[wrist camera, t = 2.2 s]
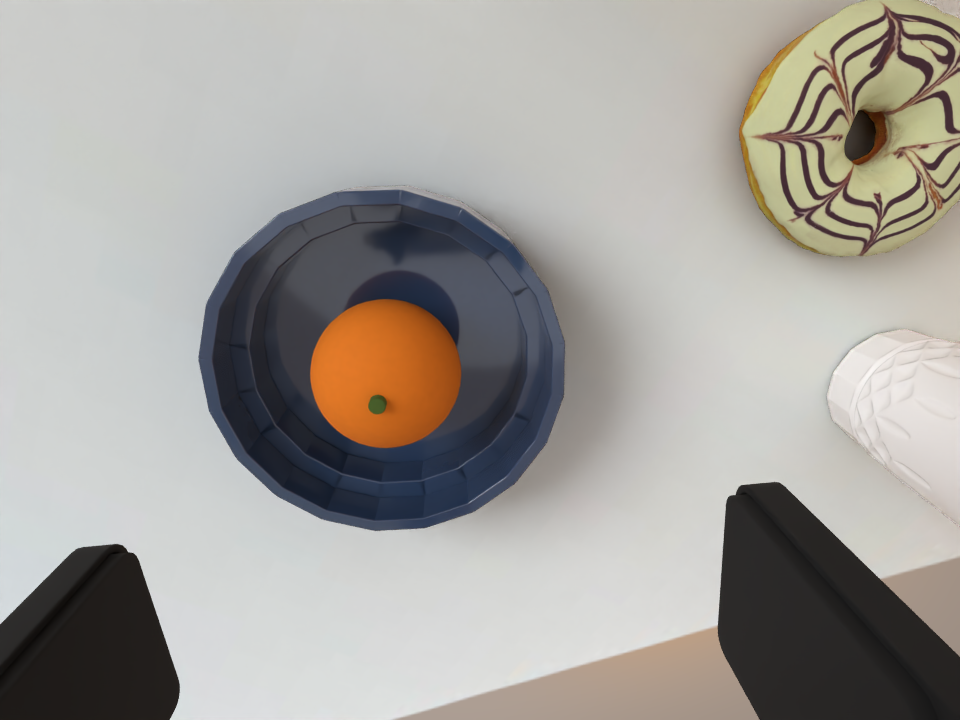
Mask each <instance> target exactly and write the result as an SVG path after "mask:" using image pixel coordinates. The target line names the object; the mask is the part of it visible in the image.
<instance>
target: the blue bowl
mask: <svg viewBox="0 0 960 720" xmlns="http://www.w3.org/2000/svg"><path fill="white" fill-rule="evenodd" d="M378 299H394V300H401V301H406V302H409V303H412V304H415V305H417V306H419V307H421V308H423V309H425V310H426V311H428V312H429V313H431V314H432V315H433V316H434V317H436V318H437V319H438V320H439V321H440V322H441V323H442V325H443V326H444V327H445V328H446V329H447V331H448V332H449V334H450V335H451V337H452V339H453V341H454V343H455V345H456V348H457V350H458V354H459V358H460V363H461V383H460V388H459V393H458V396H457V399H456V402H455V404H454V406H453V408H452V409H451V411H450V413H449V415H448V416H447V417H446V419H445V420H444V421H443V422H442V423H441V424H440V425H439V426H438V428H436V429H435V430H434V431H433V432H431V433H430V434H429V435H427V436H426V437H424V438H422V439H421V440H418V441H416V442H414V443H411V444H408V445H405V446H400V447H394V448H376V447H371V446H366V445H363V444H359V443H357V442H355V441H352V440H351V439H349V438H347V437H345V436H344V435H342V434H341V433H340V432H338V431H337V430H336V429H335V428H334V427H333V426H332V425H331V424H330V423H329V422H328V421H327V420H326V418H325V417H324V416H323V414H322V413H321V411H320V409H319V408H318V405H317V403H316V401H315V398H314V394H313V391H312V387H311V380H310V369H311V361H312V356H313V353H314V349H315V347H316V345H317V342H318V340H319V338H320V336H321V335H322V333H323V332H324V330H325V329H326V328H327V327H328V325H329V324H330V323H331V322H332V321H333V320H334V319H335V318H337V317H338V316H339V315H340V314H341V313H343V312H344V311H346V310H347V309H349V308H351V307H353V306H355V305H358V304H361V303H364V302H367V301H372V300H378ZM199 364H200V369H201V374H202V379H203V384H204V388H205V393H206V398H207V403H208V408H209V412H210V414H211V415H212V417H213V419H214V421H215V422H216V424H217V426H218V428H219V429H220V431H221V433H222V435H223V436H224V438H225V440H226V441H227V443H228V445H229V447H230V448H231V450H232V452H233V454H234V455H235V457H236V458H237V460H238V461H239V462H240V463H242V464H243V465H244V466H245V467H246V468H247V469H248V470H249V471H250V472H251V473H252V474H253V475H254V476H255V477H256V478H258V479H259V480H260V481H261V482H262V483H263V484H264V485H265V486H266V487H267V488H268V489H269V490H270V491H271V492H272V493H274V494H275V495H276V496H278V497H280V498H282V499H283V500H285V501H287V502H289V503H291V504H293V505H295V506H297V507H299V508H301V509H303V510H305V511H307V512H309V513H311V514H313V515H314V516H316V517H318V518H320V519H323V520H327V521H331V522H336V523H341V524H345V525H350V526H355V527H359V528H364V529H369V530H374V531H380V530H399V529H418V528H425V527H426V528H427V527H430V526H433V525H436V524H439V523H442V522H445V521H448V520H451V519H454V518H457V517H460V516H463V515H466V514H469V513H472V512H474V511H476V510H477V509H479V508H480V507H482V506H483V505H485V504H486V503H488V502H489V501H490V500H492V499H493V498H495V497H496V496H498V495H499V494H501V493H502V492H503V491H505V490H506V489H508V488H509V487H511V486H512V485H514V484H515V483H516V482H517V480H518V479H519V478H520V477H521V475H522V474H523V473H524V471H525V470H526V469H527V468H528V466H529V465H530V464H531V463H532V461H533V460H534V459H535V457H536V456H537V455H538V454H539V452H540V451H541V450H542V449H543V447H544V446H545V445H546V443H547V441H548V438H549V435H550V433H551V430H552V427H553V424H554V422H555V419H556V416H557V413H558V411H559V408H560V405H561V403H562V400H563V397H564V396H563V395H564V369H565V341H564V338H563V335H562V332H561V329H560V326H559V322H558V319H557V316H556V313H555V310H554V307H553V304H552V301H551V298H550V295H549V292H548V290H547V288H546V287H545V285H544V284H543V282H542V281H541V280H540V278H539V277H538V276H537V274H536V273H535V272H534V270H533V269H532V268H531V266H530V265H529V264H528V262H527V261H526V260H525V258H524V257H523V256H522V254H521V253H520V252H519V250H518V249H517V248H516V246H515V245H514V243H513V242H512V241H511V239H510V238H509V237H508V235H507V234H506V233H505V232H504V231H503V230H502V229H500V228H499V227H497V226H496V225H495V224H493V223H492V222H490V221H489V220H487V219H486V218H484V217H483V216H482V215H480V214H479V213H477V212H476V211H474V210H473V209H472V208H470V207H469V206H467V205H466V204H464V203H463V202H460V201H459V200H456V199H453V198H449V197H446V196H443V195H439V194H436V193H432V192H429V191H426V190H422V189H419V188H416V187H412V186H407V185H404V186H374V187H354V188H349V189H345V190H341V191H337V192H334V193H332V194H329V195H326V196H324V197H321V198H319V199H316V200H313V201H311V202H308V203H306V204H303V205H300V206H298V207H295V208H293V209H290V210H287V211H285V212H282V213H280V214H278V215H277V216H276V217H274V218H273V219H272V220H271V221H270V222H269V223H268V224H266V225H265V226H264V227H263V228H262V229H261V230H259V231H258V232H257V233H256V234H255V235H254V236H253V237H251V238H250V239H249V240H248V241H247V242H246V243H244V244H243V245H242V246H241V247H240V248H239V249H238V250H236V251H235V252H234V254H233V255H232V257H231V259H230V261H229V262H228V264H227V266H226V268H225V270H224V272H223V273H222V275H221V277H220V279H219V281H218V283H217V285H216V286H215V288H214V290H213V292H212V294H211V296H210V297H209V299H208V301H207V304H206V308H205V315H204V322H203V330H202V337H201V344H200V351H199Z"/></svg>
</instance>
